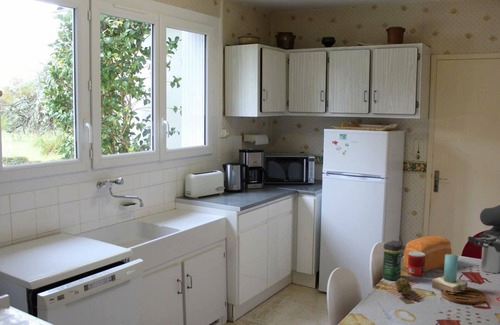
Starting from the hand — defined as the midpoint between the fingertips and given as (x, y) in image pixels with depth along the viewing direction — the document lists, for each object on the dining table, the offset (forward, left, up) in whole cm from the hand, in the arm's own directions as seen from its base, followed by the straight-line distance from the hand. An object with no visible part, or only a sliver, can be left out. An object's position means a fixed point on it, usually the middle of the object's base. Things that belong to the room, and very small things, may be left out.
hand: (474, 237), depth 218 cm
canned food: (-4, -33, -28) cm, 43 cm away
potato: (+24, -18, -28) cm, 41 cm away
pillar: (0, -11, -23) cm, 26 cm away
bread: (-21, -39, -28) cm, 52 cm away
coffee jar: (+11, -36, -28) cm, 46 cm away
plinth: (0, -11, -27) cm, 29 cm away
